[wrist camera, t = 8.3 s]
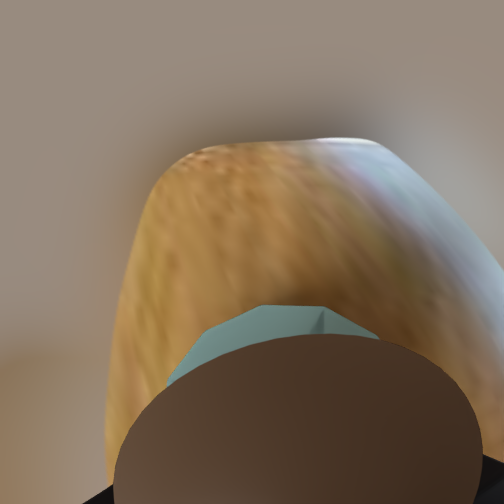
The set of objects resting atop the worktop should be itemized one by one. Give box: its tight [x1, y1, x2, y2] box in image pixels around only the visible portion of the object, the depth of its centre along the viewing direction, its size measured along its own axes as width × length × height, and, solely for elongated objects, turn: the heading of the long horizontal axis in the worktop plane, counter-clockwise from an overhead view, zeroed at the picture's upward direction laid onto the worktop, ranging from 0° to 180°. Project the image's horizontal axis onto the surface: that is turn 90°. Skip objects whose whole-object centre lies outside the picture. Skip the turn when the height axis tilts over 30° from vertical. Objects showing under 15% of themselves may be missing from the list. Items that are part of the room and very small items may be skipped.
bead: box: [167, 305, 380, 387], centre depth 12 cm, size 11×11×4 cm
